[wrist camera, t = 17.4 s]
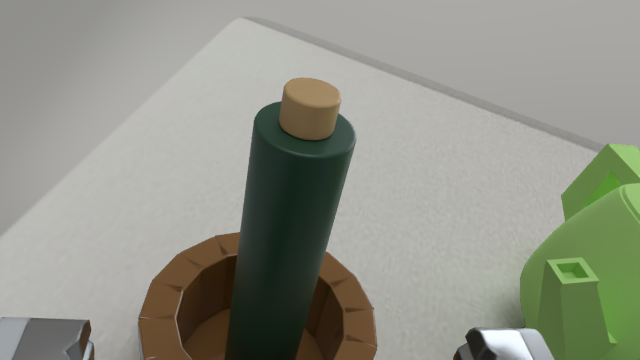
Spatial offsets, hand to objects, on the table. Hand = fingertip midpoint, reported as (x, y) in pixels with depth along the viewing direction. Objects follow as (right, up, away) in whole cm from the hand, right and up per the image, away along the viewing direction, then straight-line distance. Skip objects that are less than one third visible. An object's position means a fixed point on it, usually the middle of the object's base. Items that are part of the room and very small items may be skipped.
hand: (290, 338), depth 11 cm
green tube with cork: (-2, -4, +8) cm, 9 cm away
